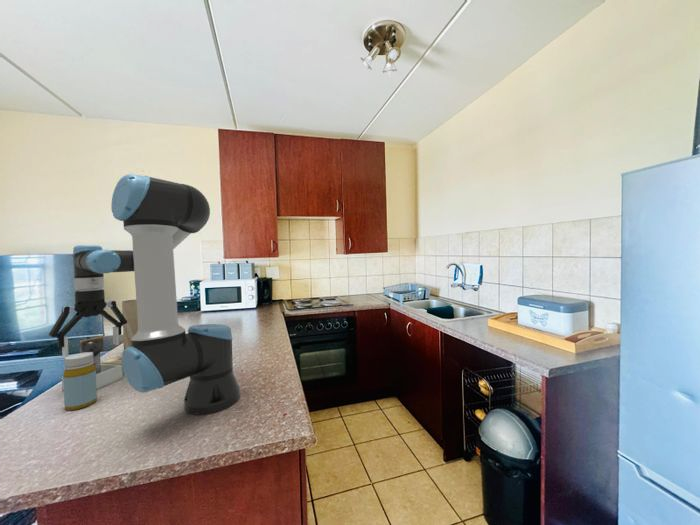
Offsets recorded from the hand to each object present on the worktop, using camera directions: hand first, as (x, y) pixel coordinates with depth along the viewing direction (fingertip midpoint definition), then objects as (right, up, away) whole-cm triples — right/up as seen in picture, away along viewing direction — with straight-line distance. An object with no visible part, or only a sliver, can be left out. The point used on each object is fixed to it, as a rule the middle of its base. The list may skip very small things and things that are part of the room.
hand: (92, 350), depth 97 cm
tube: (-8, -12, +31) cm, 34 cm away
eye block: (+1, -12, +15) cm, 19 cm away
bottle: (+9, -13, -13) cm, 20 cm away
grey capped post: (0, -12, 0) cm, 12 cm away
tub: (0, -12, 0) cm, 12 cm away
